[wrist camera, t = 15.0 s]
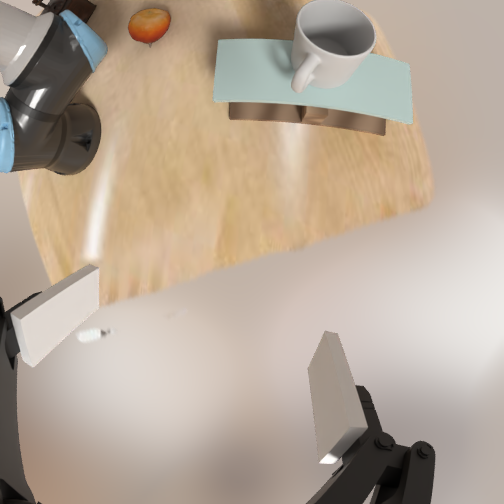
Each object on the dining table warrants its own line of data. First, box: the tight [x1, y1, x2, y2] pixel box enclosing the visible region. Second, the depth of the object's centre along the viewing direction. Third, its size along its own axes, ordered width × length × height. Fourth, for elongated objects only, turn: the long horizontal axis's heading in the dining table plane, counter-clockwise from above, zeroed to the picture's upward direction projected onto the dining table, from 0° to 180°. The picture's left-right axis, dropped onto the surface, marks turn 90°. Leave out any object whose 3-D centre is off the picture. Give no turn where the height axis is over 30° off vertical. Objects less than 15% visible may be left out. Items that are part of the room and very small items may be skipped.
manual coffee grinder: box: [32, 0, 96, 23], centre depth 25 cm, size 16×11×18 cm
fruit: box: [128, 8, 171, 48], centre depth 34 cm, size 8×8×8 cm
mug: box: [291, 0, 376, 93], centre depth 24 cm, size 12×8×11 cm
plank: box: [213, 39, 413, 124], centre depth 30 cm, size 28×10×1 cm, turn 87°
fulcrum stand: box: [229, 102, 386, 136], centre depth 35 cm, size 26×12×8 cm, turn 87°
